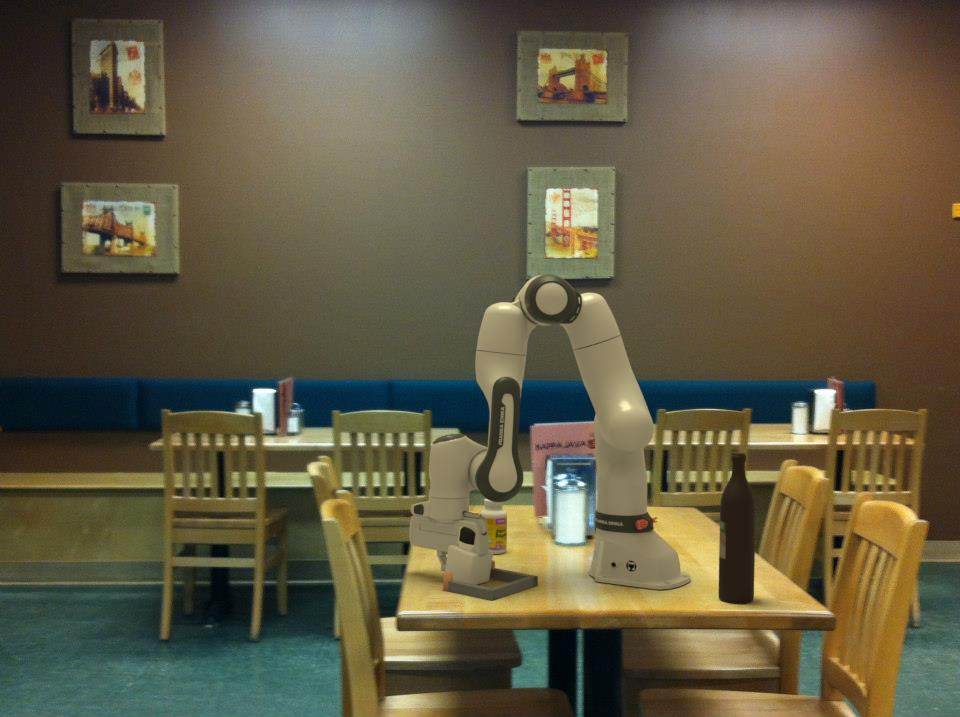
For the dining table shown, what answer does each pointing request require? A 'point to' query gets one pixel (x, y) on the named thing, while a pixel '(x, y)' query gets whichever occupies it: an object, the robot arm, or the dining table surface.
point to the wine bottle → (737, 536)
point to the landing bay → (515, 585)
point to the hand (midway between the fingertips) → (448, 571)
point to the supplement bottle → (496, 525)
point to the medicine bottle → (468, 560)
